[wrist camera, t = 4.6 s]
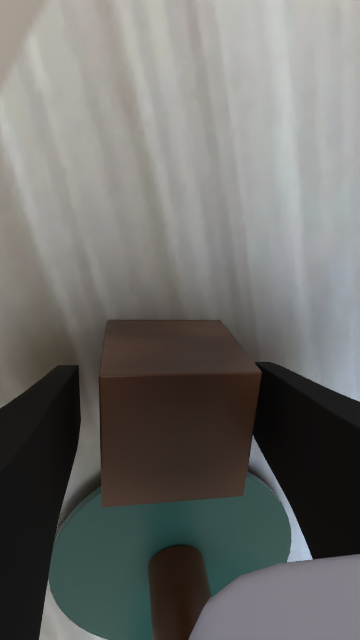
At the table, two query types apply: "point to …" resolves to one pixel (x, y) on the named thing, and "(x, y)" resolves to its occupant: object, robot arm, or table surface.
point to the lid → (161, 559)
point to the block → (174, 412)
